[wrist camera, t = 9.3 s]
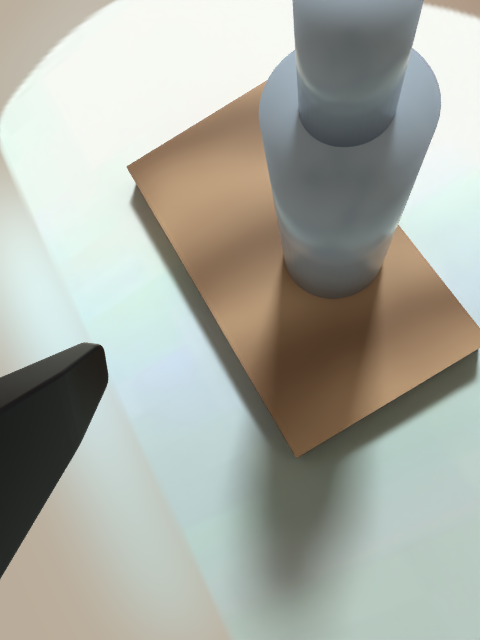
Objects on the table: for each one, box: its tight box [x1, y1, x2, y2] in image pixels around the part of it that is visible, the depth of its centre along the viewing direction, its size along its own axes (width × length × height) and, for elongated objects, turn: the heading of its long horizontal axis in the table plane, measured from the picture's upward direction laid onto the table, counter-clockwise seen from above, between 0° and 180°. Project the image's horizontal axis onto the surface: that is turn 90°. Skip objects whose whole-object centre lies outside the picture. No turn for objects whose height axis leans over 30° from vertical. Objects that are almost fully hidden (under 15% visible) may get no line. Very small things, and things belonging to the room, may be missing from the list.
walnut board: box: [127, 81, 480, 458], centre depth 24 cm, size 18×10×2 cm, turn 30°
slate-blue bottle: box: [259, 0, 441, 299], centre depth 16 cm, size 5×5×14 cm
